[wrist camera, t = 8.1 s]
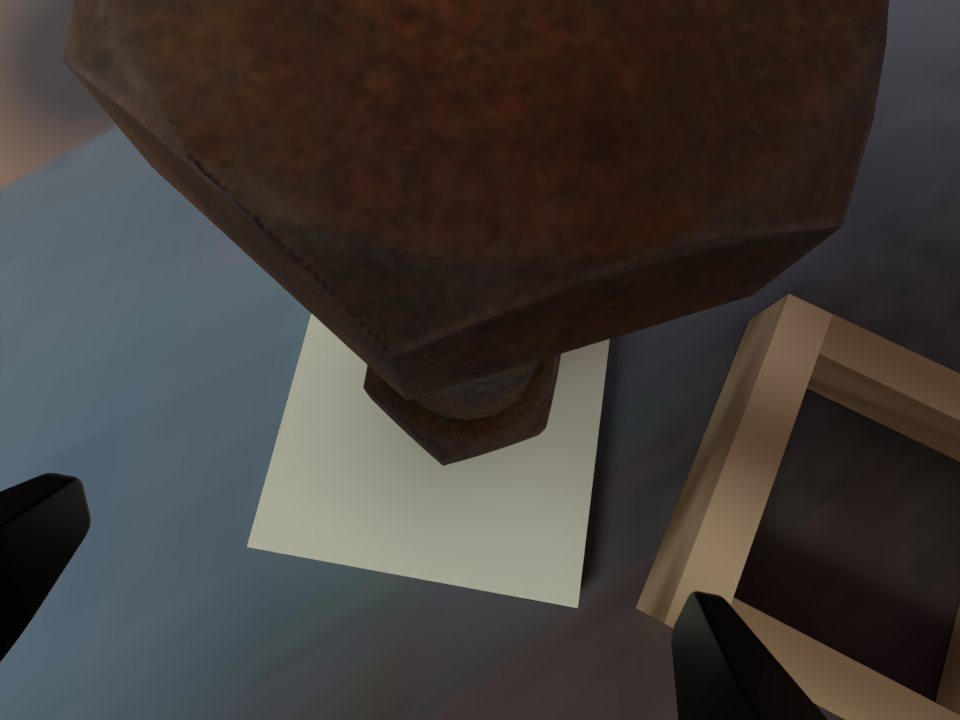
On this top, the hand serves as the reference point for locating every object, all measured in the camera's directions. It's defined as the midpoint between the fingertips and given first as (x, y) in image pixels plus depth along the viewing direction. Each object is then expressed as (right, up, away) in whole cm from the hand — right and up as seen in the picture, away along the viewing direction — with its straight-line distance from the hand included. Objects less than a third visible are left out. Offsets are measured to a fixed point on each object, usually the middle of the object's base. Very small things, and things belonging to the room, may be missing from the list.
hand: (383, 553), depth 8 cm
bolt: (+1, +1, +10) cm, 10 cm away
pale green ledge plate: (0, +2, +11) cm, 11 cm away
